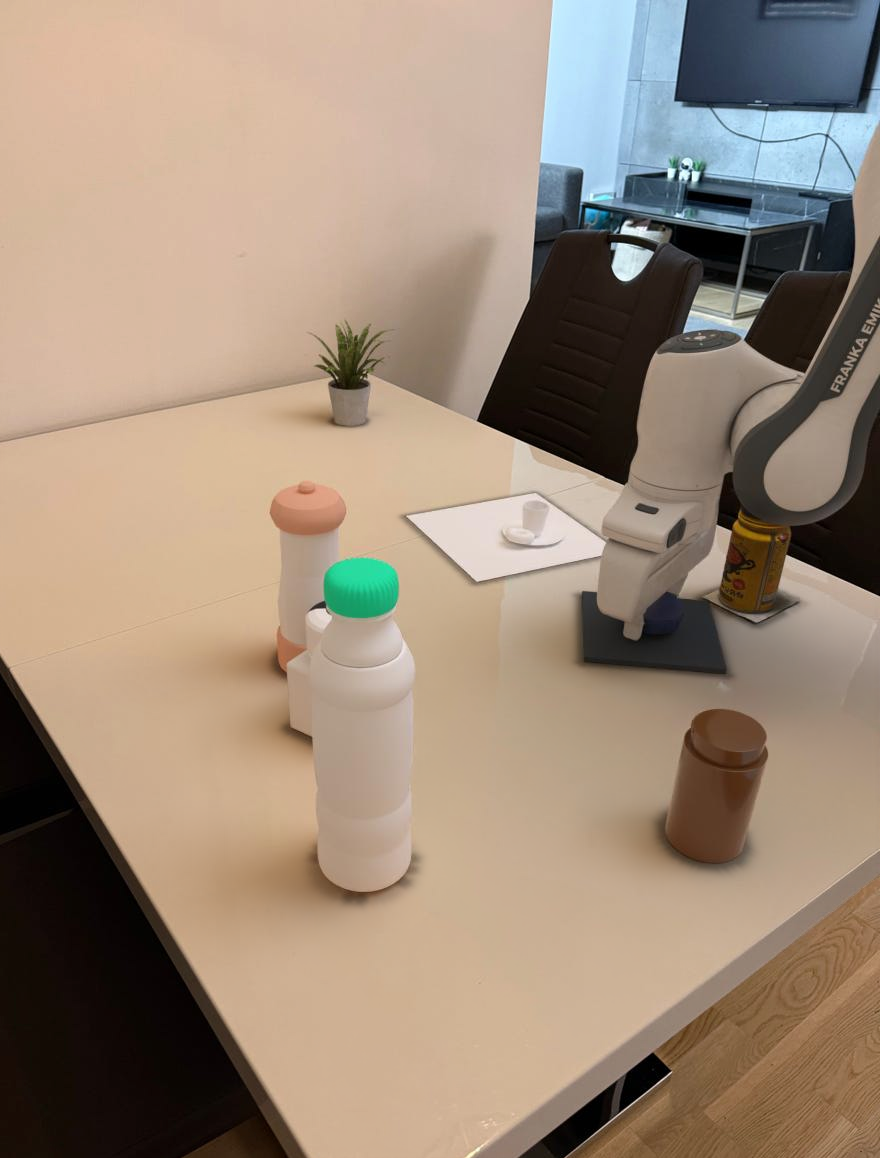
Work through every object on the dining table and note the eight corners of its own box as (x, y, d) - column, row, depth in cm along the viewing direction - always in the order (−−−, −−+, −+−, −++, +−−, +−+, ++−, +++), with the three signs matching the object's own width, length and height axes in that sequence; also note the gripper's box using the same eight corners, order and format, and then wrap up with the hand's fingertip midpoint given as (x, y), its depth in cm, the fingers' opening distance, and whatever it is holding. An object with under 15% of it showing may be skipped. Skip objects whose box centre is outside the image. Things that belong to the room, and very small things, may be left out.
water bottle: (402, 903, 69) (407, 602, 55) (307, 889, 70) (290, 591, 56) (417, 835, 74) (425, 549, 61) (330, 824, 75) (319, 540, 62)
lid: (605, 611, 101) (608, 597, 100) (650, 596, 104) (653, 582, 103) (647, 641, 97) (650, 626, 96) (693, 624, 100) (696, 609, 99)
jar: (736, 813, 77) (763, 708, 71) (749, 867, 72) (780, 758, 66) (661, 806, 78) (682, 702, 72) (669, 859, 73) (693, 751, 67)
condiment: (701, 598, 108) (721, 500, 101) (746, 577, 112) (768, 482, 106) (756, 624, 103) (780, 523, 96) (801, 602, 107) (827, 503, 101)
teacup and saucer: (516, 554, 116) (518, 524, 114) (485, 528, 122) (487, 499, 120) (576, 542, 119) (580, 512, 117) (543, 517, 126) (546, 489, 123)
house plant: (417, 422, 158) (419, 321, 149) (357, 442, 149) (356, 337, 140) (357, 402, 166) (356, 306, 157) (297, 421, 157) (293, 320, 149)
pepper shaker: (346, 637, 99) (342, 465, 89) (355, 676, 93) (352, 495, 83) (276, 643, 98) (264, 469, 88) (281, 682, 92) (268, 500, 82)
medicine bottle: (337, 691, 91) (334, 581, 85) (398, 717, 88) (399, 605, 81) (288, 728, 86) (281, 614, 80) (350, 757, 83) (347, 640, 76)
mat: (708, 605, 106) (708, 600, 106) (725, 673, 94) (727, 668, 94) (581, 595, 108) (582, 590, 108) (583, 661, 96) (584, 656, 96)
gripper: (685, 463, 102) (665, 576, 109) (593, 525, 88) (576, 650, 96) (742, 477, 99) (717, 593, 106) (655, 544, 85) (633, 672, 92)
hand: (650, 621), depth 101 cm, fingers closed on lid, 6 cm apart
